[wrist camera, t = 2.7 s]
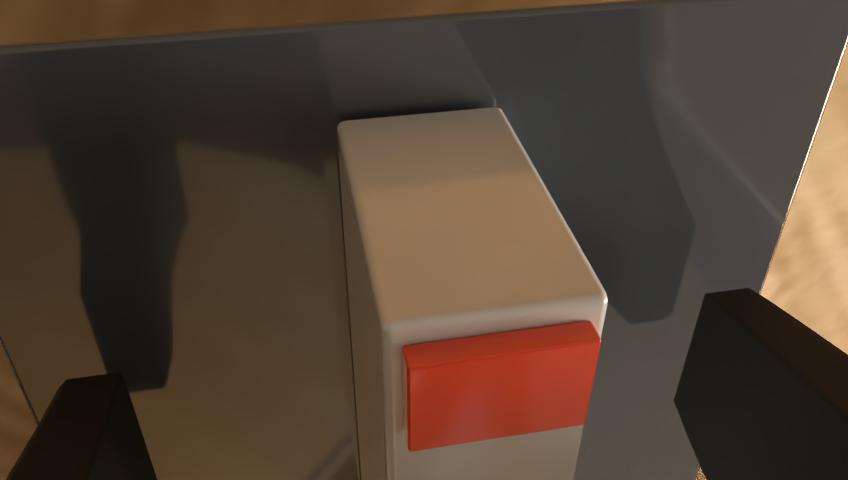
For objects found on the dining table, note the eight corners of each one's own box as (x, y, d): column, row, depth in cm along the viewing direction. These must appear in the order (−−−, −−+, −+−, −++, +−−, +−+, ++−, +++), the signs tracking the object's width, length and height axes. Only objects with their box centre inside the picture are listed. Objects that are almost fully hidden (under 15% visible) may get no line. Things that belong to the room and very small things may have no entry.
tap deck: (601, 482, 19) (654, 602, 17) (167, 556, 17) (158, 700, 15) (733, -91, 11) (870, -15, 9) (-43, -50, 9) (-132, 56, 7)
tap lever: (474, 492, 13) (539, 720, 10) (363, 511, 13) (399, 750, 10) (500, 102, 9) (626, 318, 6) (334, 117, 8) (387, 350, 6)
